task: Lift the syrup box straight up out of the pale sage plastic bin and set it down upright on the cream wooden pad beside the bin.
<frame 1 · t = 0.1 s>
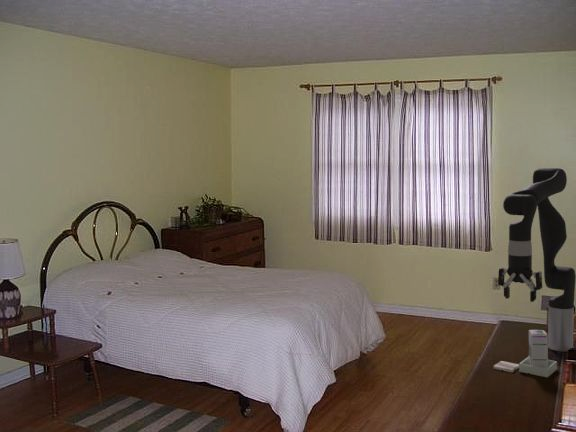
hand: (519, 299, 209), 29 cm above the dresser, fingers open, 8 cm apart
bin: (538, 370, 222), on the dresser
syrup box: (537, 371, 222), resting in bin
pad: (506, 367, 226), on the dresser
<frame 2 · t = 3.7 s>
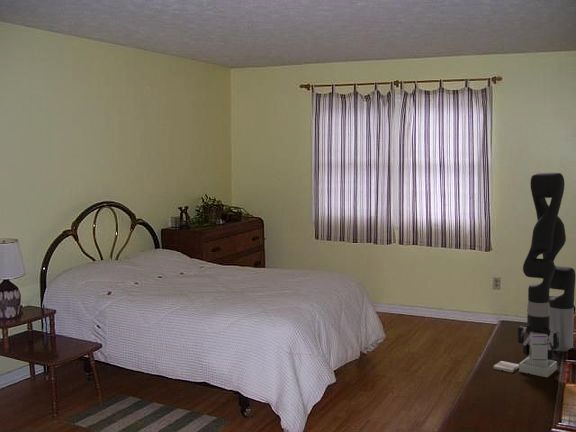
hand: (538, 357, 222), 5 cm above the dresser, fingers closed on syrup box, 7 cm apart
syrup box: (538, 370, 222), resting in bin, touching gripper
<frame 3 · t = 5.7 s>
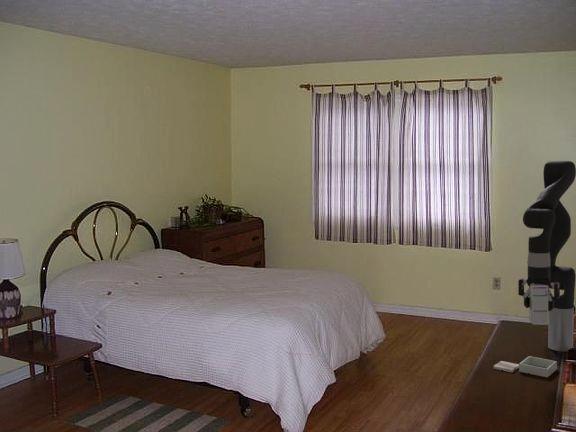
hand: (538, 309, 220), 23 cm above the dresser, fingers closed on syrup box, 7 cm apart
syrup box: (538, 323, 221), point 18 cm above the dresser, touching gripper
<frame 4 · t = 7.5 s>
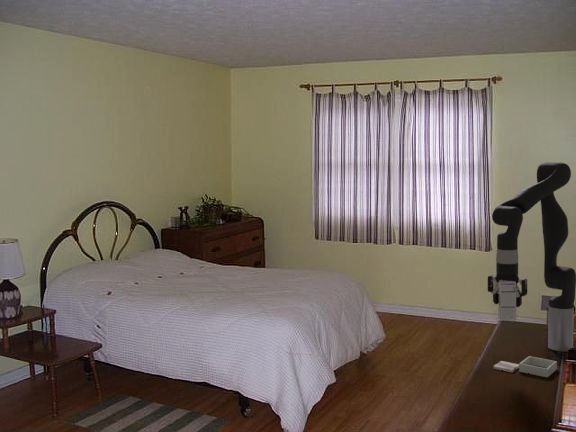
hand: (507, 305, 224), 24 cm above the dresser, fingers closed on syrup box, 7 cm apart
syrup box: (507, 319, 224), point 19 cm above the dresser, touching gripper
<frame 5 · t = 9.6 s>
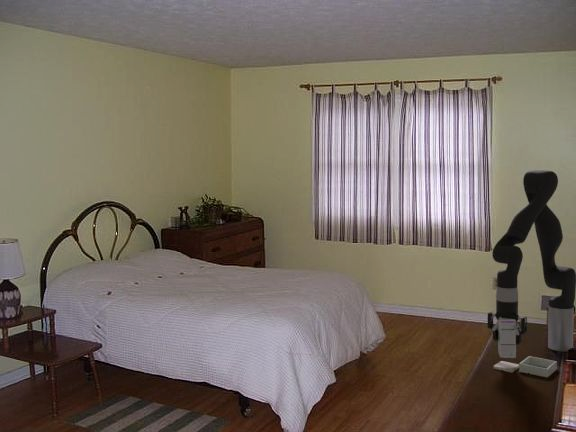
hand: (506, 342, 225), 10 cm above the dresser, fingers closed on syrup box, 7 cm apart
syrup box: (506, 356, 225), point 5 cm above the dresser, touching gripper
when the fingers open (7 cm above the dresser, at t = 11.5 s): syrup box stays where it is, resting on pad.
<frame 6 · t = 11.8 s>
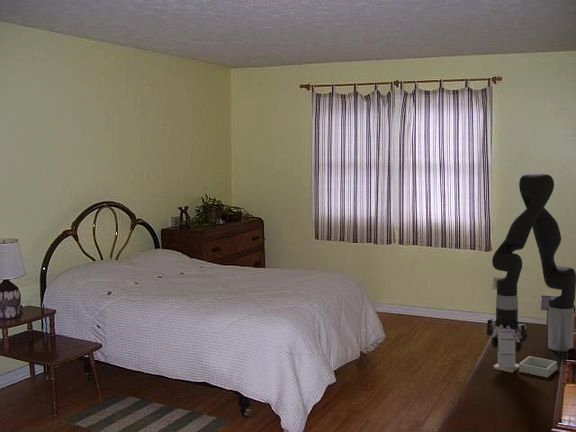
hand: (506, 349, 225), 7 cm above the dresser, fingers open, 8 cm apart
syrup box: (506, 365, 226), point 1 cm above the dresser, touching pad
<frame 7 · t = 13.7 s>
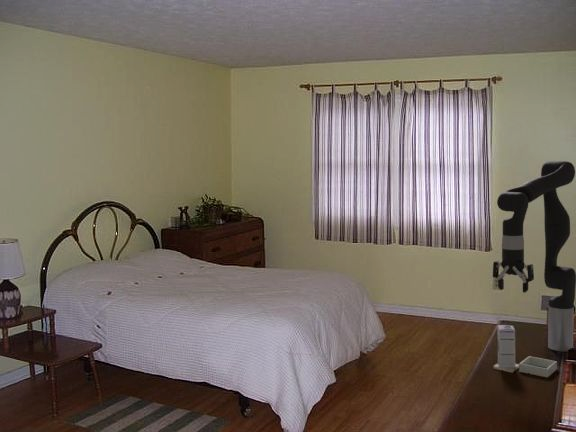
hand: (512, 290, 223), 29 cm above the dresser, fingers open, 8 cm apart
nothing on the dresser moved.
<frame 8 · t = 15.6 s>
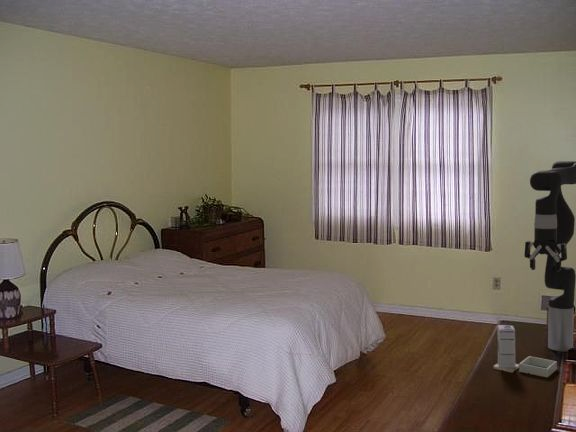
hand: (545, 270, 222), 36 cm above the dresser, fingers open, 8 cm apart
nothing on the dresser moved.
at the end: syrup box inside the target area on the pad (0.2 cm from its centre), point 0.8 cm above the pad's base; syrup box tilted 0°; the gripper is holding nothing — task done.
